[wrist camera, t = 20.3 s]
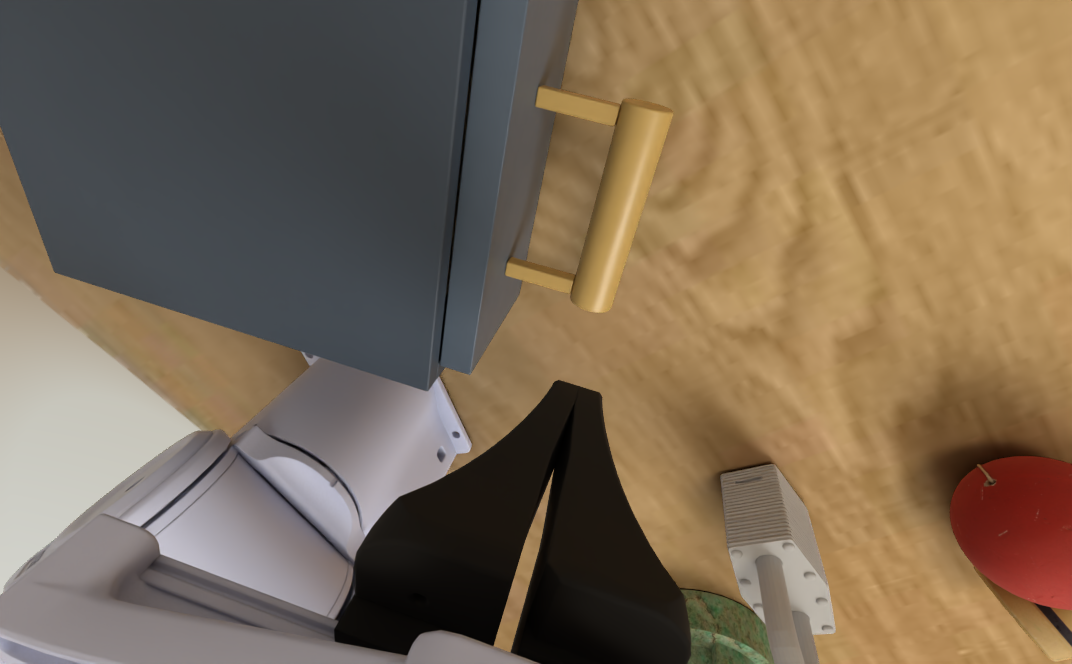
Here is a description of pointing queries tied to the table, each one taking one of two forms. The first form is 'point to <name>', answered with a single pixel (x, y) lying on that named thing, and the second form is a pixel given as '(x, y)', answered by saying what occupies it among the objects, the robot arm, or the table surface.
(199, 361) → the table surface
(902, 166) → the table surface
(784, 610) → the padlock
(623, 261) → the drawer
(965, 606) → the table surface
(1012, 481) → the kendama
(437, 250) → the cabinet
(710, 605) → the decorative artifact
